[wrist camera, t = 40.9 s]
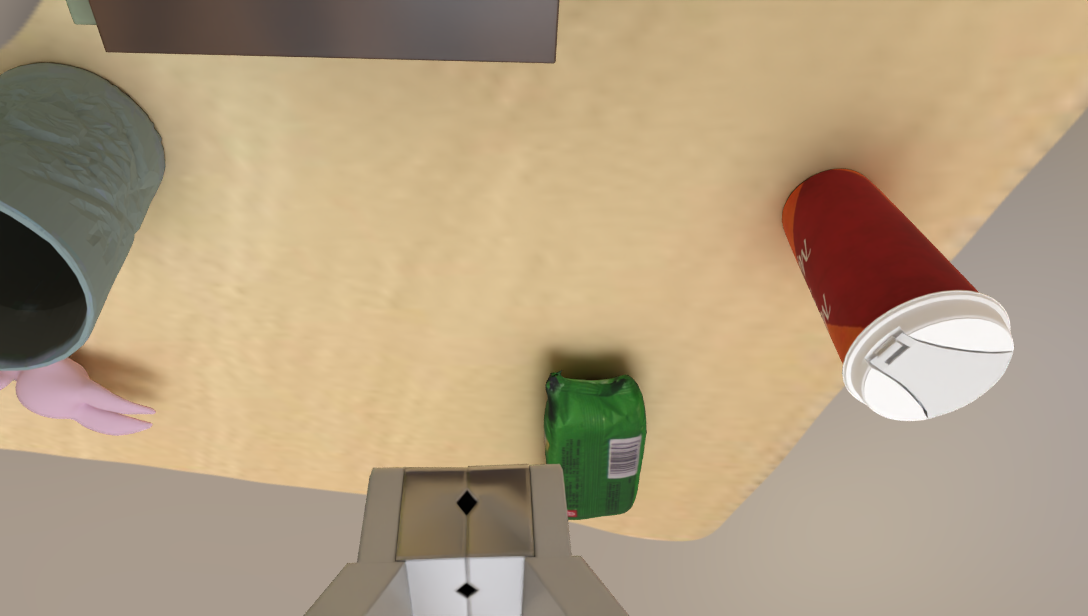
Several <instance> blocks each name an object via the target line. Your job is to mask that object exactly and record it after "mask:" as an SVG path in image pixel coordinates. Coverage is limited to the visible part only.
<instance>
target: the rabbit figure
mask: <svg viewBox="0 0 1088 616" xmlns="http://www.w3.org/2000/svg"><path fill="white" fill-rule="evenodd" d="M13 380H16V381H17V383H16V395H17V397H18V399H19V401H20V402H21V403H22V404H23V405H24V406H25V407H26V408H27V409H29V410H30V411H32V412H34V413H36V414H39V415H41V416H45V417H49V418H56V419H73V420H75V421H77V422H78V423H80V424H81V425H83V426H84V427H86V428H88V429H91V430H93V431H96V432H99V433H103V434H108V435H127V434H132V433H136V432H139V431H143V430H145V429H148V428H150V427H151V426H152V423H150V422H146V421H142V420H138V419H135V418H132V417H129V416H125V415H122V414H155V413H156V411H155V410H154V409H152V408H150V407H147V406H143V405H139V404H136V403H133V402H130V401H128V400H126V399H123V398H121V397H119V396H117V395H115V394H113V393H112V392H110V391H109V390H107V389H106V388H104V387H102V386H101V385H99V384H98V383H96V382H94V381H92V380H91V379H89V376H88V374H87V372H86V370H85V369H84V368H83V367H82V366H81V365H80V364H78V363H76V362H75V361H73V360H71V359H69V358H68V357H67V358H66V359H63V360H61V361H58V362H56V363H54V364H51V365H49V366H45V367H41V368H36V369H31V370H19V371H0V390H1V389H3V388H4V387H6V386H7V385H9V384H10V383H11V381H13ZM119 413H121V414H119Z"/></svg>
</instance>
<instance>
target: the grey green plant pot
mask: <svg viewBox="0 0 1088 616" xmlns="http://www.w3.org/2000/svg"><path fill="white" fill-rule="evenodd" d="M161 140H162V138H161V137H160V135H159V133H158V132H157V131H156V130H155V129H154V124H153V123H152V122H151V121H150V120H149V118H148V116H147V114H146V113H144V112H143V111H142V109H141V108H140V107H139V106H138V105H137V104H135V102H134V101H133V100H132V99H131V98H130V97H129V96H127V95H126V94H125V93H123V92H121V91H120V90H119V89H118V88H117V86H114V85H111V84H110V83H109V81H107V80H105V79H103V78H101V77H100V76H98V75H96V74H93V73H91V72H88V71H86V70H83V69H80V68H76V67H73V66H68V65H62V64H54V63H35V64H29V65H24V66H19V67H16V68H14V69H11V70H9V71H6V72H5V73H3V74H1V75H0V371H19V370H31V369H36V368H41V367H45V366H49V365H51V364H54V363H56V362H58V361H61V360H63V359H66V358H67V357H69V356H70V355H71V354H73V353H74V352H75V351H76V350H78V349H79V348H80V347H81V346H83V345H84V344H85V342H86V341H87V339H88V338H89V336H90V334H91V332H92V330H93V328H94V326H95V323H96V321H97V319H98V317H99V315H100V312H101V310H102V308H103V306H104V303H105V301H106V299H107V296H108V294H109V291H110V289H111V287H112V285H113V283H114V281H115V279H116V277H117V275H118V273H119V271H120V269H121V267H122V265H123V263H124V261H125V259H126V257H127V255H128V253H129V251H130V248H131V246H132V244H133V241H134V234H135V233H136V232H137V231H138V230H139V229H140V226H141V224H142V222H143V219H144V217H145V215H146V212H147V210H148V208H149V205H150V203H151V201H152V199H153V197H154V196H155V194H156V191H157V189H158V187H159V185H160V183H161V181H162V178H163V174H164V170H165V159H164V149H163V146H162V144H161Z"/></svg>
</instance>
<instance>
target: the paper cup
mask: <svg viewBox="0 0 1088 616" xmlns="http://www.w3.org/2000/svg"><path fill="white" fill-rule="evenodd" d="M782 223H783V228H784V231H785V234H786V236H787V239H788V241H789V244H790V246H791V249H792V251H793V253H794V256H795V258H796V260H797V263H798V265H799V267H800V269H801V272H802V274H803V276H804V278H805V281H806V283H807V285H808V287H809V290H810V292H811V294H812V296H813V299H814V301H815V303H816V305H817V308H818V310H819V312H820V314H821V317H822V319H823V321H824V323H825V325H826V328H827V330H828V332H829V334H830V337H831V339H832V341H833V343H834V346H835V348H836V350H837V352H838V355H839V357H840V359H841V361H842V363H843V369H842V375H843V381H844V384H845V386H846V388H847V390H848V391H849V392H850V393H851V395H852V396H853V397H855V398H856V399H857V400H859V401H861V402H862V403H864V404H866V405H867V406H868V407H869V408H870V409H872V410H873V411H874V412H875V413H878V414H879V415H881V416H883V417H886V418H889V419H893V420H901V421H917V420H925V419H927V418H928V419H930V418H933V417H937V416H940V415H943V414H946V413H949V412H952V411H955V410H957V409H959V408H962V407H964V406H966V405H967V404H969V403H971V402H973V401H974V400H976V399H977V398H978V397H980V396H981V395H983V394H984V393H985V392H987V390H989V389H990V388H991V387H992V386H993V385H994V384H995V383H996V382H997V381H998V380H999V379H1000V378H1001V377H1002V375H1003V374H1004V372H1005V371H1006V369H1007V367H1008V364H1009V362H1010V360H1011V357H1012V354H1013V351H1014V343H1013V338H1012V335H1011V333H1010V320H1009V316H1008V314H1007V312H1006V310H1005V309H1004V308H1003V307H1002V305H1001V304H1000V303H999V302H998V301H996V300H995V299H993V298H992V297H990V296H987V295H985V294H982V293H979V292H978V291H977V290H976V289H975V288H974V287H973V286H972V285H971V284H970V283H969V281H967V279H966V278H965V277H964V276H963V275H962V274H961V273H960V272H959V271H958V270H957V269H956V268H955V267H954V266H953V265H952V264H951V263H950V262H949V261H948V260H947V259H946V258H945V257H944V256H943V254H942V253H941V252H940V251H939V250H938V249H937V248H936V247H935V246H934V245H933V244H932V243H931V242H930V241H929V240H928V239H927V238H926V237H925V236H924V235H923V234H922V233H921V232H920V231H919V230H918V229H917V228H916V227H915V225H914V224H913V223H912V222H911V221H910V220H909V219H908V218H907V217H906V216H905V215H904V214H903V213H902V212H901V211H900V210H899V209H898V208H897V207H896V206H895V205H894V204H893V203H892V202H891V201H890V200H889V199H888V198H887V197H886V196H885V195H884V194H883V193H882V192H881V191H880V190H879V189H878V188H877V187H876V186H875V185H874V184H873V183H872V182H871V181H870V180H868V179H867V178H866V177H865V176H863V175H862V174H860V173H858V172H856V171H853V170H849V169H832V170H827V171H824V172H821V173H818V174H816V175H814V176H812V177H810V178H809V179H807V180H805V181H804V182H803V183H801V184H800V185H799V186H798V187H797V188H796V189H795V190H794V191H793V192H792V194H791V195H790V196H789V198H788V200H787V202H786V204H785V206H784V209H783V214H782ZM925 415H926V416H927V418H926V416H925Z"/></svg>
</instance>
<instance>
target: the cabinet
mask: <svg viewBox="0 0 1088 616" xmlns="http://www.w3.org/2000/svg"><path fill="white" fill-rule="evenodd" d="M88 1H89V4H90V7H91V10H92V13H93V15H94V18H95V21H96V24H97V27H98V30H99V33H100V36H101V39H102V42H103V45H104V48H105V51H106V52H122V53H162V54H202V55H242V56H281V57H321V58H361V59H401V60H441V61H480V62H520V63H555V61H556V46H557V30H558V14H559V0H88Z"/></svg>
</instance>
